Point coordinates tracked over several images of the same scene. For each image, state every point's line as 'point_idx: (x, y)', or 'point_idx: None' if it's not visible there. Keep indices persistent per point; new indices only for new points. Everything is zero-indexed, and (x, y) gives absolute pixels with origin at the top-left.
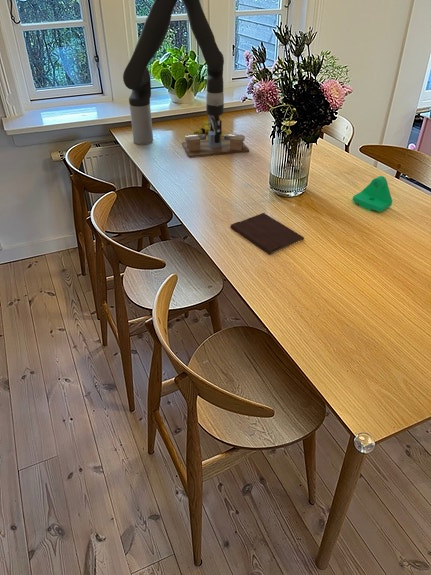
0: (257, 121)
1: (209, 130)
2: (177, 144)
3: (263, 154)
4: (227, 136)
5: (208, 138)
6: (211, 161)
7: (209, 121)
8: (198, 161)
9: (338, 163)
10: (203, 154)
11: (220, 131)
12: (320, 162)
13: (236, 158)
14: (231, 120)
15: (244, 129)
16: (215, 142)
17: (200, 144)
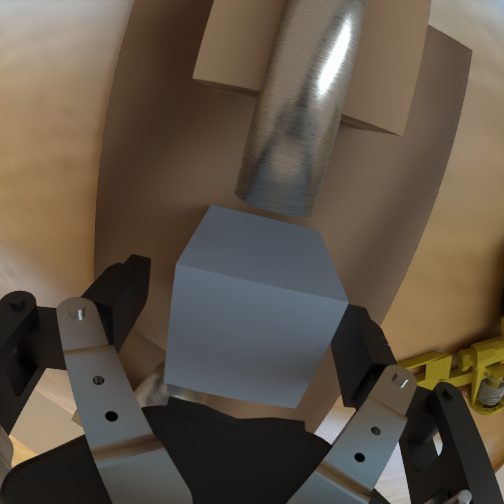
0: (408, 494)
1: (495, 348)
2: (471, 28)
3: (73, 409)
4: (140, 397)
5: (308, 253)
6: (25, 119)
7: (394, 438)
8: (59, 27)
9: (22, 459)
10: (114, 85)
11: (6, 363)
12: (22, 448)
13: (34, 292)
14: (488, 442)
15: (391, 466)
16: (132, 258)
17: (352, 161)
